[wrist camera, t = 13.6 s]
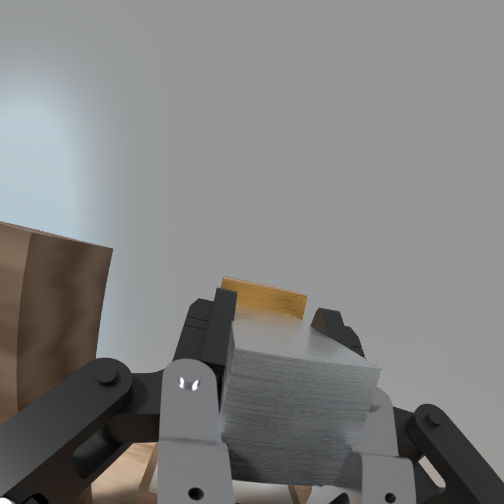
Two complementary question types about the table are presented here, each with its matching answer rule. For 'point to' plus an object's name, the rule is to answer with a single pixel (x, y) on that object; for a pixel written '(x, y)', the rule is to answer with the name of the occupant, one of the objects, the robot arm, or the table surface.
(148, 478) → the zigzag patterned block
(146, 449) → the table surface
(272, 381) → the bar
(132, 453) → the table surface
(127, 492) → the table surface
